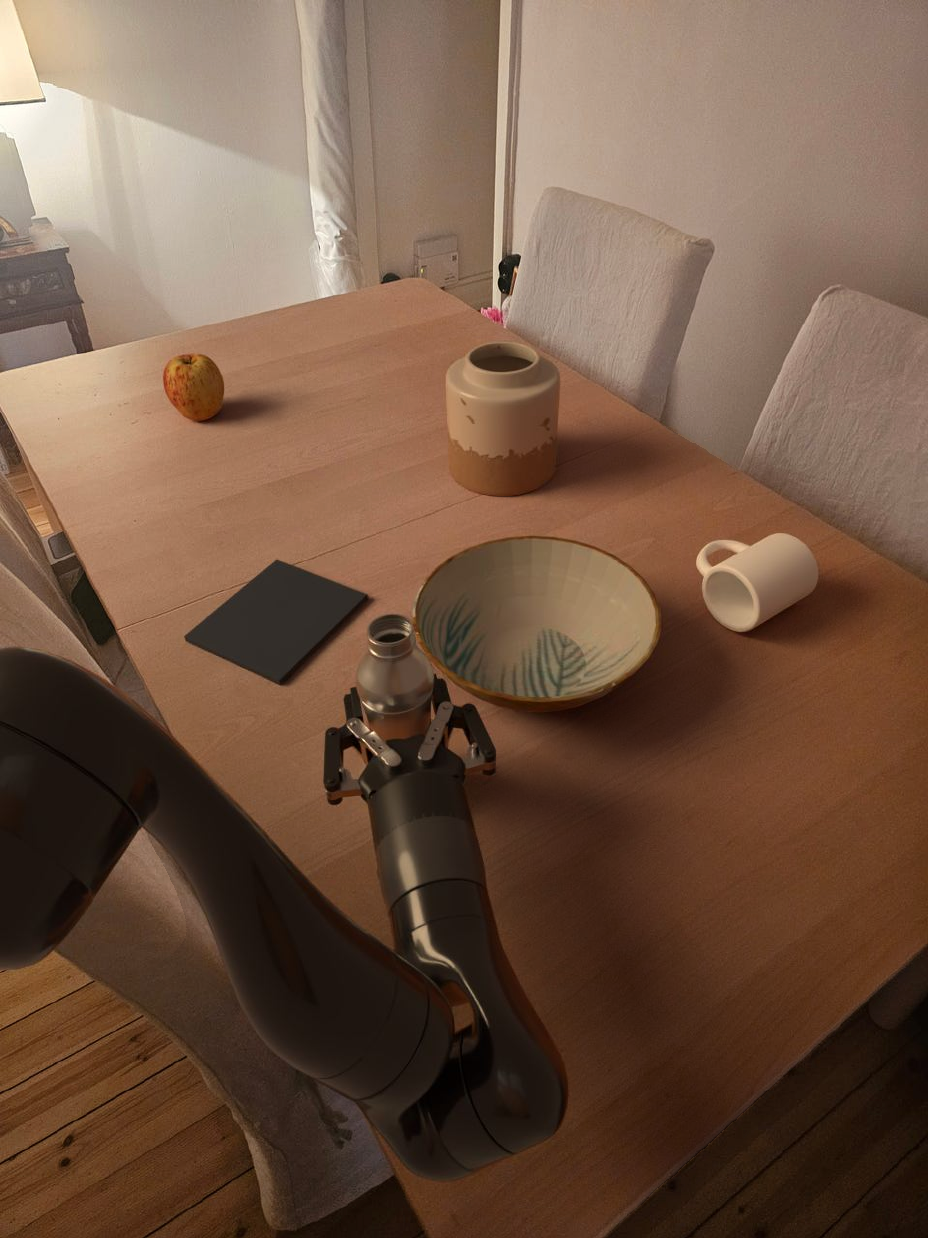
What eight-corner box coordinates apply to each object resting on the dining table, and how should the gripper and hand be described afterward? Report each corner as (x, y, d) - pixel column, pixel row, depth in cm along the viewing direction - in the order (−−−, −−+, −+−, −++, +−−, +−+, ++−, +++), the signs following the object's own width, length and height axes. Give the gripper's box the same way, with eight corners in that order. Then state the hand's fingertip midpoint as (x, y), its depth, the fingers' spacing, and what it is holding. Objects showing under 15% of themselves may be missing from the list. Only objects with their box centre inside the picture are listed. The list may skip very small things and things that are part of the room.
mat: (280, 685, 87) (279, 680, 87) (185, 641, 93) (183, 636, 92) (368, 599, 97) (367, 594, 97) (277, 563, 103) (276, 558, 102)
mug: (809, 609, 94) (827, 554, 89) (750, 646, 90) (766, 590, 84) (727, 558, 101) (740, 504, 96) (670, 589, 97) (680, 535, 92)
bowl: (702, 687, 86) (715, 632, 80) (502, 798, 76) (502, 743, 71) (556, 563, 101) (560, 509, 96) (376, 641, 92) (369, 587, 87)
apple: (196, 397, 136) (180, 339, 130) (242, 406, 134) (229, 347, 127) (162, 423, 130) (144, 364, 124) (210, 433, 128) (194, 372, 121)
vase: (427, 466, 119) (420, 356, 108) (504, 429, 126) (505, 322, 115) (499, 510, 110) (499, 395, 99) (577, 468, 117) (586, 357, 106)
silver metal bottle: (456, 791, 77) (449, 634, 63) (393, 826, 74) (373, 670, 61) (419, 747, 81) (406, 590, 67) (359, 779, 78) (332, 622, 65)
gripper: (524, 801, 58) (473, 642, 70) (321, 841, 56) (304, 670, 68) (522, 859, 63) (474, 701, 75) (335, 898, 61) (317, 729, 73)
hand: (393, 687), depth 72 cm, fingers closed on silver metal bottle, 6 cm apart
